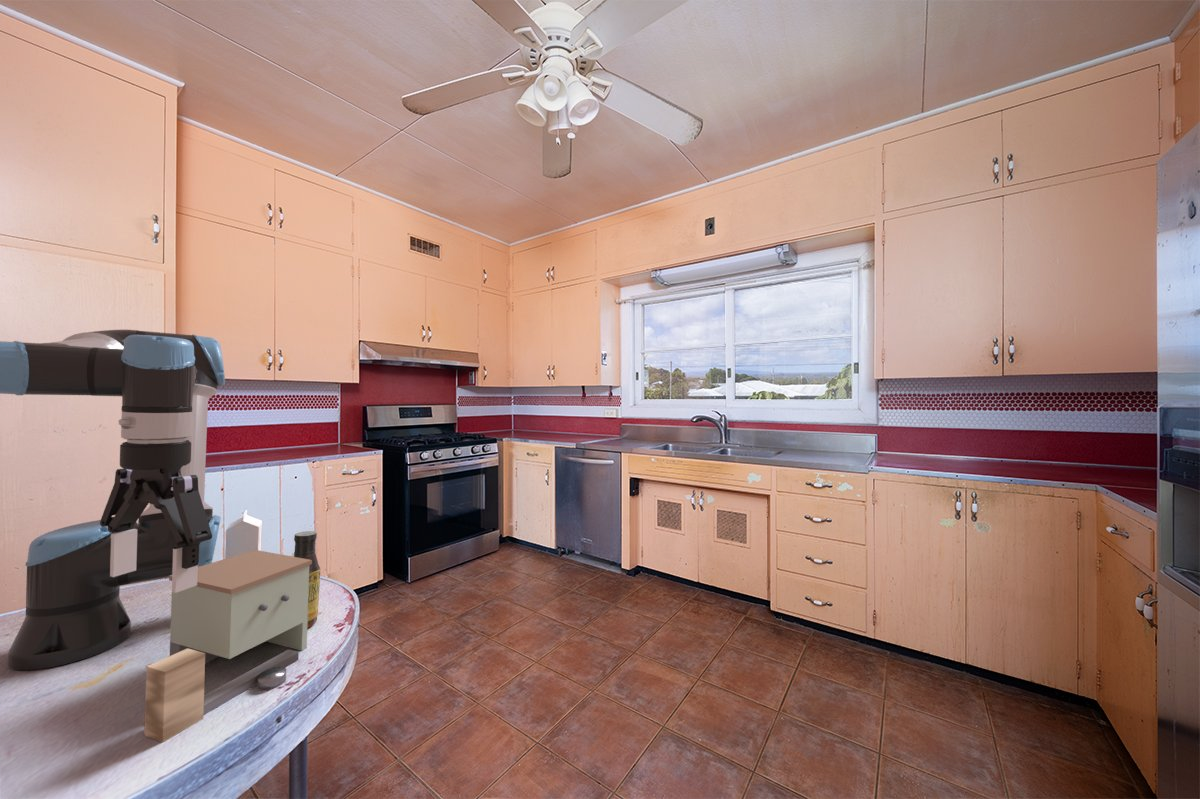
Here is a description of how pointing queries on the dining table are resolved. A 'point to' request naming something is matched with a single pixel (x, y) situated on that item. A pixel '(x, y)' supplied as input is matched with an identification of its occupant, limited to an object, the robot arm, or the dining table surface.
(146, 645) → the dining table surface
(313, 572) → the sauce bottle
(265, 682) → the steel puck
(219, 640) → the cabinet
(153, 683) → the wooden toy block
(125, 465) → the robot arm
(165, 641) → the dining table surface
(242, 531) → the milk
